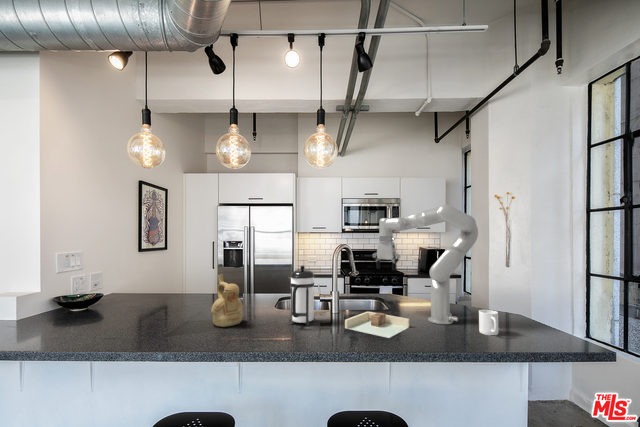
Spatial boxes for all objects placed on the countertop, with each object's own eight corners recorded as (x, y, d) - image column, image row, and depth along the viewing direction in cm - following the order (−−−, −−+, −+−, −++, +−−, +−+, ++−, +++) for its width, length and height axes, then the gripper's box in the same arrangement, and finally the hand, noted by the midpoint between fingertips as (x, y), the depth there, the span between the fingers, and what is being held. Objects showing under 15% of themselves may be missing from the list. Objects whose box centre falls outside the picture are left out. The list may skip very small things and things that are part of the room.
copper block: (378, 327, 169) (377, 316, 169) (370, 325, 172) (370, 315, 172) (385, 323, 175) (385, 313, 176) (378, 322, 178) (378, 312, 178)
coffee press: (282, 320, 182) (282, 264, 183) (310, 317, 188) (310, 263, 190) (292, 329, 166) (293, 268, 167) (322, 326, 172) (322, 266, 174)
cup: (493, 330, 166) (493, 309, 167) (505, 338, 154) (505, 315, 155) (476, 330, 167) (476, 309, 167) (487, 338, 155) (486, 315, 155)
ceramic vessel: (219, 331, 163) (220, 278, 164) (203, 322, 178) (204, 274, 179) (250, 324, 175) (251, 275, 176) (233, 317, 189) (233, 272, 190)
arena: (409, 328, 170) (409, 318, 170) (389, 339, 153) (389, 328, 153) (367, 319, 185) (367, 311, 185) (344, 329, 168) (344, 319, 168)
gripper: (402, 239, 193) (403, 270, 192) (375, 239, 203) (376, 267, 203) (397, 240, 187) (397, 271, 186) (369, 239, 198) (369, 268, 197)
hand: (386, 269), depth 194 cm, fingers open, 9 cm apart
